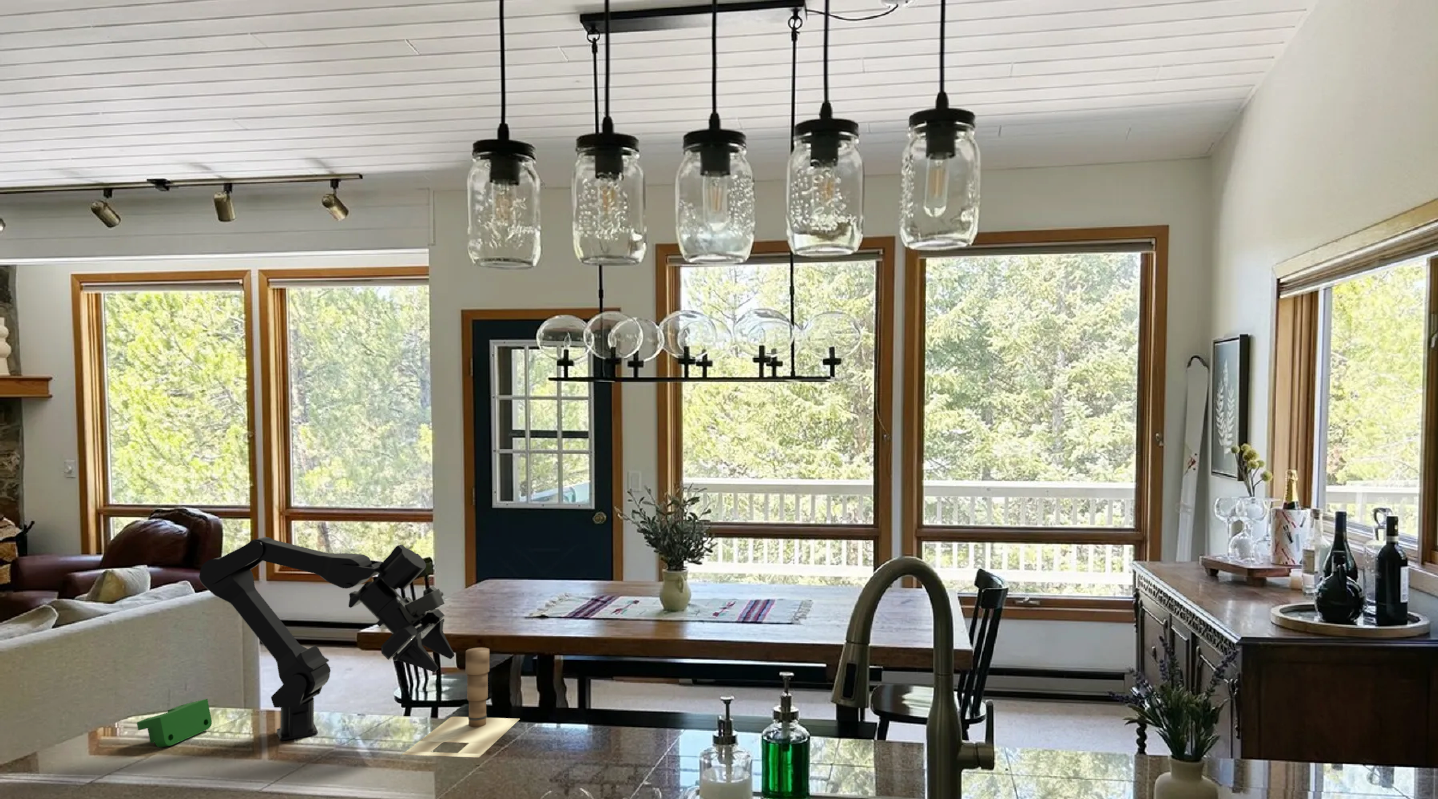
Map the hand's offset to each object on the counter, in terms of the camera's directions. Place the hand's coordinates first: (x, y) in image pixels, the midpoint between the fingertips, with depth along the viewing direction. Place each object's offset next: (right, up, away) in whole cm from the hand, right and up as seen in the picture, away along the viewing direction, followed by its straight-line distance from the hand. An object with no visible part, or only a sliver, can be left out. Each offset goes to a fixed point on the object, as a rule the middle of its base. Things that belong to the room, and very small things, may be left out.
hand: (444, 663), depth 162 cm
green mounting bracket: (-51, -14, -2) cm, 53 cm away
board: (+6, -13, -7) cm, 15 cm away
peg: (+6, -12, -1) cm, 13 cm away
